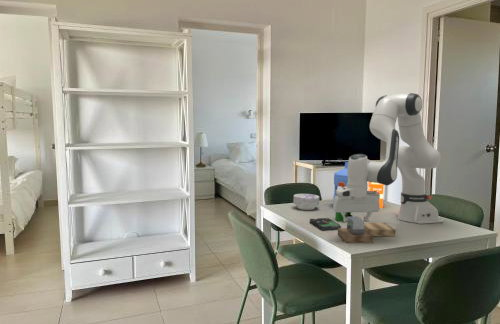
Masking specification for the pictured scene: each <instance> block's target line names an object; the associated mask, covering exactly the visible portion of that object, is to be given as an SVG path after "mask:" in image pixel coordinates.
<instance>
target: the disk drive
mask: <svg viewBox="0 0 500 324" xmlns="http://www.w3.org/2000/svg"><path fill="white" fill-rule="evenodd" d="M309 224H310V225H312V226H314V227H315V228H317V229H318V230H320V231H322V232H325V231H326V232H327V231H338V228H342V226H341V224H339V223H338V222H336V221H334V220H333V219H330V218H329V217H322V218H321V217H318V218H309Z"/></svg>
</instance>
